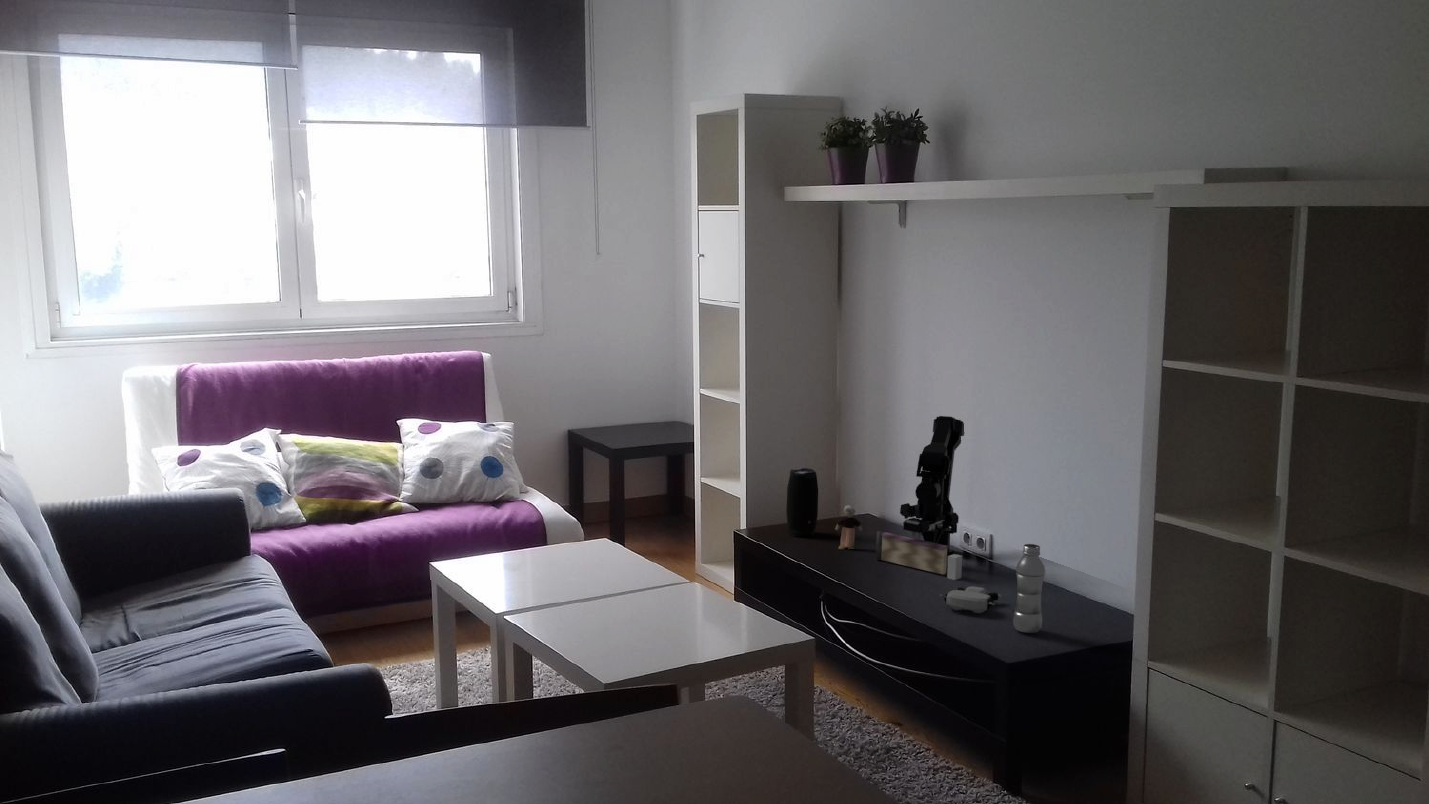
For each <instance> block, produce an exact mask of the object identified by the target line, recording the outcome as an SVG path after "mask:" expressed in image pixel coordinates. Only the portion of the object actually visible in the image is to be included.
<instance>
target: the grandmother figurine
mask: <svg viewBox="0 0 1429 804" xmlns="http://www.w3.org/2000/svg"><path fill="white" fill-rule="evenodd" d="M843 512H844V515H845V516H843V517H842V518H840V519H839V521H837V524H836V525H835V526H836V527H835V528H834V529H835V530H836V531H838V530H840V527H841V526H842V528H841V534H840V535H841V536H840V545H839V546H838V549H839V550H845V549H846V548H848V549H847V550H849V549H854V550H855V547H854V545H855V537H856V535H855V533H856V532H855V530H856V529H855V527H857V528H858V530H859V531H860V532H862V531H863V527H862V523H861V521H859V520H858V519H857V518H855V517H854V515H855V514H856V510H855V508H854V507H853V506H852V505H845V506H844V508H843Z"/></svg>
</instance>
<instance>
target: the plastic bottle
mask: <svg viewBox="0 0 1429 804" xmlns="http://www.w3.org/2000/svg"><path fill="white" fill-rule="evenodd" d="M1022 554H1023V556H1022V557H1021V558H1020V559H1019V561H1018V563H1017V564H1016V569H1015V572H1016V581H1017V582H1016V583H1017V586H1016V587H1017V589H1016V590H1017V592H1016V593H1017V597H1016V602H1015V603H1016V604H1015V609H1014V613H1013V619H1012V621H1013V627H1014V628H1015V630H1017V631H1018V632H1020V633H1025V634H1035V633H1039V632H1040V630H1041V629H1042V626H1043V616H1042V615H1043V614H1042V591H1043V583H1044V579H1045V574H1046V568H1045V565H1044V563H1043V561H1042V560H1041V558H1040V557H1039V556H1040V555H1041V546H1040V545H1038V544H1033V543H1026V544H1023V549H1022Z"/></svg>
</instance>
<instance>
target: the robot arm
mask: <svg viewBox="0 0 1429 804" xmlns="http://www.w3.org/2000/svg"><path fill="white" fill-rule="evenodd" d="M964 424H965V423H964V421H962V420H961V419H957V418H955V417H953V416H948V415H947V416H946V415H939V416H936V418H935V419H933V426H932V438H931V440H930V443H929V444H927V445H925V446H924V447H923V449H922V452H921V453H919V458H918V463H917V468H916V469H917V470H916V477H917V478H918V477H919V478H921V482H920V483H919V484H918V485H917V486H916V489H915V497H916V498H917V504H913V505H911V504H910V503H909V502H908V503H904V504H901V505H900V509H899V510H900V511H899V514H900V515H901V516H902V517H903V518H904V521H903V523H902V525H903V526H902V530H904V531H908V532H913V533H918V534H921V535H922V537H923V541H928V542H933V543H937V544H942V545H946V546H948V549H947V555H948V554H951V552H952V553H954V552H955V549H950V546H951V534H952V535H953V534H957V533H958V524H959V521H960V520H959V519H960V518H959V515H958V514H957V512H955V511H954V507H953V506H952V503H951V501H950V495H951V494H950V493H951V485H952V476H953V467H954V458H955V451H956V450H957V448H958V447H959V446H960V445H961V444H962V440H961V436H962V437H964V436H965V432H964Z"/></svg>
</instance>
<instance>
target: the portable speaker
mask: <svg viewBox="0 0 1429 804" xmlns="http://www.w3.org/2000/svg"><path fill="white" fill-rule="evenodd" d="M787 483H788V484H787V487H786V509H785V511H786V523H787V530H788V531H787V532H788V533H789V534H790V536H791V537H796V538H797V537H798V538H802V536H804V535H809V536H810V537H813V536H815V533H816V532H815V531H816V527H817V521H818V516H819V515H818V514H819V513H818V512H819V484H818V476H817V472H816V471H815V470H814V469H812V468H808V467H802V468H800V469H799V468H798V469H790V470H789V477H788V482H787Z"/></svg>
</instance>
